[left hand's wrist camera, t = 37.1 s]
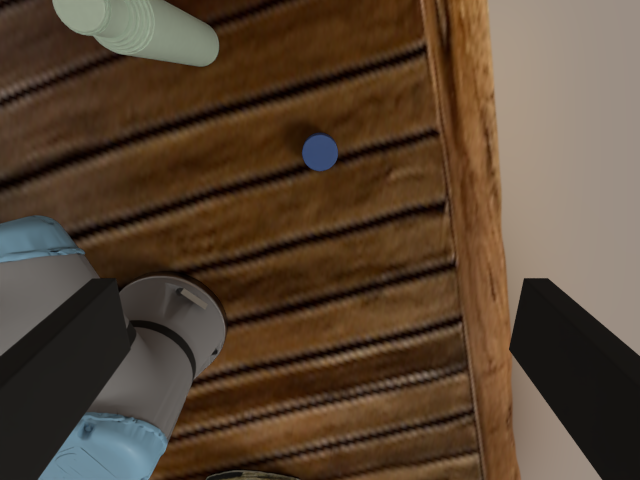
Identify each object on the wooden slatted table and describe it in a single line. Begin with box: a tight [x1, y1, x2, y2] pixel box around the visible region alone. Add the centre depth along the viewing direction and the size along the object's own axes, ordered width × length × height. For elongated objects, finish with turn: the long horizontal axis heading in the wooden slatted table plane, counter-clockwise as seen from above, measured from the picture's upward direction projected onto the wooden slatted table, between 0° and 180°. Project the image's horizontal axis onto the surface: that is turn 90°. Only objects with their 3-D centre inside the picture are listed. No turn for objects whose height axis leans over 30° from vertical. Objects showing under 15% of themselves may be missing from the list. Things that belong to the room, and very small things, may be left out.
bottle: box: [52, 0, 219, 66], centre depth 31 cm, size 4×4×22 cm
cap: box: [302, 133, 338, 171], centre depth 44 cm, size 4×4×2 cm
